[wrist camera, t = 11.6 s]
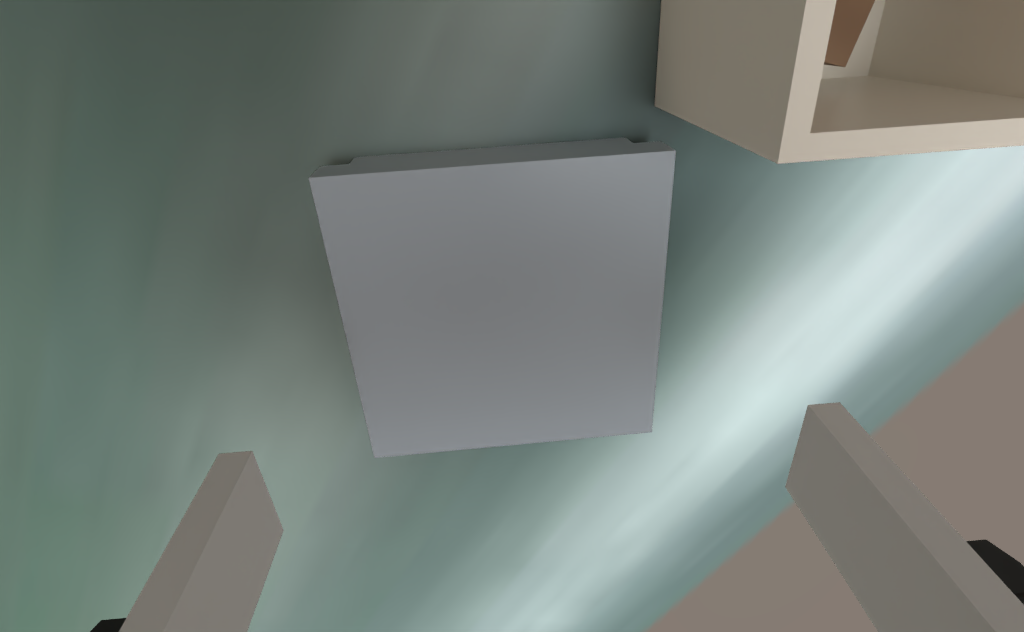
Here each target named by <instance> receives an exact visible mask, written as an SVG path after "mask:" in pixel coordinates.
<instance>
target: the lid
mask: <svg viewBox="0 0 1024 632" xmlns="http://www.w3.org/2000/svg"><path fill="white" fill-rule="evenodd" d="M675 154H676V150H674V149H673V148H671V147H669V146H668V145H666V144H665V143H663V142H661V141H655V142H642V143H632V142H631V141H629V140H628V139H627V138H625V137H623V138H610V139H596V140H582V141H568V142H555V143H541V144H527V145H513V146H500V147H486V148H472V149H458V150H445V151H431V152H417V153H404V154H390V155H376V156H362V157H354V159H353V160H352V161H351V162H350V164H342V165H328V166H320V167H319V168H318V169H317V170H316V171H315V172H314V173H313V174H312V175H311V176H310V177H309V182H310V186H311V190H312V194H313V199H314V203H315V207H316V211H317V216H318V220H319V224H320V228H321V233H322V237H323V241H324V245H325V250H326V254H327V258H328V262H329V267H330V271H331V275H332V279H333V284H334V288H335V292H336V296H337V301H338V305H339V309H340V313H341V318H342V322H343V326H344V330H345V335H346V339H347V343H348V347H349V352H350V356H351V360H352V364H353V369H354V373H355V377H356V381H357V386H358V390H359V394H360V398H361V402H362V407H363V411H364V415H365V419H366V424H367V428H368V432H369V436H370V441H371V445H372V449H373V453H374V458H378V457H389V456H399V455H410V454H421V453H432V452H442V451H453V450H464V449H475V448H486V447H496V446H507V445H518V444H529V443H540V442H550V441H561V440H572V439H583V438H593V437H604V436H615V435H626V434H637V433H647V432H652V423H653V411H654V400H655V388H656V376H657V365H658V353H659V341H660V330H661V318H662V306H663V295H664V283H665V271H666V260H667V248H668V236H669V225H670V213H671V201H672V190H673V178H674V166H675Z"/></svg>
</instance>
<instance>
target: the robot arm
mask: <svg viewBox="0 0 1024 632" xmlns="http://www.w3.org/2000/svg"><path fill="white" fill-rule="evenodd" d="M785 487H786V489H787V490H788V492H789V493H790V495H791V497H792V498H793V500H794V501H795V503H796V504H797V506H798V507H799V509H800V511H801V512H802V514H803V515H804V517H805V518H806V520H807V522H808V523H809V525H810V526H811V528H812V529H813V531H814V532H815V534H816V536H817V537H818V539H819V540H820V542H821V543H822V545H823V546H824V548H825V550H826V551H827V553H828V554H829V556H830V557H831V559H832V561H833V562H834V564H835V565H836V567H837V568H838V570H839V571H840V573H841V575H842V576H843V578H844V579H845V581H846V582H847V584H848V585H849V587H850V589H851V590H852V592H853V593H854V595H855V596H856V598H857V600H858V601H859V603H860V604H861V606H862V607H863V609H864V610H865V612H866V614H867V615H868V617H869V618H870V620H871V621H872V623H873V625H874V626H875V627H876V629H877V631H878V632H1024V566H1023V565H1022V564H1021V563H1020V562H1018V561H1017V560H1015V559H1014V558H1012V557H1011V556H1010V555H1008V554H1007V553H1005V552H1003V551H1002V550H1001V549H999V548H998V547H996V546H995V545H993V544H992V543H990V542H989V541H987V540H976V541H965V540H964V539H963V538H962V536H961V535H960V534H959V533H958V532H957V531H956V530H955V529H954V528H953V527H952V526H951V524H950V523H949V522H948V521H947V520H946V519H945V518H944V517H943V516H942V515H941V514H940V512H939V511H938V510H937V509H936V508H935V507H934V506H933V505H932V503H931V502H930V501H929V500H928V499H927V498H926V497H925V496H924V495H923V494H922V493H921V491H920V490H919V489H918V488H917V487H916V486H915V485H914V484H913V483H912V482H911V480H910V479H909V478H908V477H907V476H906V475H905V474H904V473H903V472H902V470H901V469H900V468H899V467H898V466H897V465H896V464H895V463H894V462H893V461H892V460H891V458H890V457H889V456H888V455H887V454H886V453H885V452H884V451H883V450H882V449H881V447H880V446H879V445H878V444H877V443H876V442H875V441H874V440H873V439H872V438H871V436H870V435H869V434H868V433H867V432H866V431H865V430H864V429H863V428H862V427H861V425H860V424H859V423H858V422H857V421H856V420H855V419H854V418H853V417H852V416H851V414H850V413H849V412H848V411H847V410H846V409H845V408H844V407H843V406H842V405H841V403H840V402H839V403H827V404H814V405H808V407H807V410H806V414H805V418H804V421H803V425H802V428H801V432H800V436H799V439H798V443H797V447H796V450H795V454H794V457H793V461H792V465H791V468H790V472H789V475H788V479H787V483H786V486H785ZM282 533H283V528H282V525H281V522H280V520H279V517H278V515H277V512H276V510H275V507H274V505H273V502H272V500H271V497H270V495H269V492H268V490H267V487H266V485H265V482H264V479H263V477H262V474H261V472H260V469H259V467H258V464H257V462H256V459H255V457H254V454H253V452H252V451H246V452H234V453H222V454H219V455H218V456H217V458H216V460H215V462H214V463H213V465H212V467H211V469H210V471H209V472H208V474H207V476H206V478H205V479H204V481H203V483H202V485H201V487H200V488H199V490H198V492H197V494H196V495H195V497H194V499H193V501H192V502H191V504H190V506H189V508H188V510H187V511H186V513H185V515H184V517H183V518H182V520H181V522H180V524H179V526H178V527H177V529H176V531H175V533H174V534H173V536H172V538H171V540H170V542H169V543H168V545H167V547H166V549H165V550H164V552H163V554H162V556H161V558H160V559H159V561H158V563H157V565H156V566H155V568H154V570H153V572H152V574H151V575H150V577H149V579H148V581H147V582H146V584H145V586H144V588H143V590H142V591H141V593H140V595H139V597H138V598H137V600H136V602H135V604H134V606H133V607H132V609H131V611H130V613H129V614H128V616H127V618H121V619H110V620H101V621H100V622H99V623H98V624H97V625H96V626H95V627H94V628H93V629H92V630H91V631H90V632H247V630H248V628H249V625H250V622H251V619H252V617H253V614H254V611H255V608H256V605H257V603H258V600H259V597H260V594H261V592H262V589H263V586H264V583H265V580H266V578H267V575H268V572H269V569H270V567H271V564H272V561H273V558H274V555H275V553H276V550H277V547H278V544H279V541H280V539H281V536H282Z"/></svg>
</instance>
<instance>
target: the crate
mask: <svg viewBox="0 0 1024 632" xmlns="http://www.w3.org/2000/svg"><path fill="white" fill-rule="evenodd" d="M835 5H836V0H661V14H660V29H659V45H658V60H657V76H656V91H655V107H658V108H660V109H662V110H664V111H666V112H668V113H670V114H672V115H675V116H677V117H679V118H681V119H683V120H685V121H687V122H690V123H692V124H694V125H696V126H698V127H700V128H702V129H705V130H707V131H709V132H711V133H713V134H715V135H717V136H719V137H722V138H724V139H726V140H728V141H730V142H732V143H734V144H737V145H739V146H741V147H743V148H745V149H747V150H749V151H751V152H754V153H756V154H758V155H760V156H762V157H764V158H766V159H769V160H771V161H773V162H775V163H777V164H781V163H795V162H808V161H821V160H835V159H848V158H861V157H875V156H888V155H901V154H915V153H928V152H941V151H955V150H968V149H981V148H995V147H1008V146H1021V145H1024V0H875V2H874V4H873V6H872V9H871V11H870V13H869V15H868V18H867V20H866V22H865V24H864V27H863V29H862V31H861V33H860V35H859V38H858V40H857V42H856V44H855V47H854V49H853V51H852V53H851V56H850V58H849V60H848V62H847V65H846V67H839V66H831V65H824V61H825V56H826V51H827V46H828V41H829V36H830V31H831V26H832V21H833V16H834V11H835Z"/></svg>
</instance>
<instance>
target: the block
mask: <svg viewBox="0 0 1024 632" xmlns="http://www.w3.org/2000/svg"><path fill="white" fill-rule="evenodd" d="M874 2H875V0H836V5H835V11H834V16H833V21H832V26H831V31H830V36H829V41H828V46H827V51H826V56H825V61H824V65H831V66H839V67H846V65H847V62H848V60H849V58H850V56H851V53H852V51H853V49H854V47H855V44H856V42H857V40H858V38H859V35H860V33H861V31H862V29H863V27H864V24H865V22H866V20H867V18H868V15H869V13H870V11H871V9H872V6H873V4H874Z"/></svg>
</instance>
